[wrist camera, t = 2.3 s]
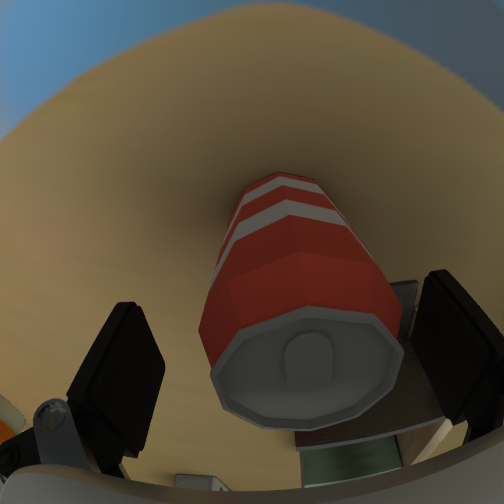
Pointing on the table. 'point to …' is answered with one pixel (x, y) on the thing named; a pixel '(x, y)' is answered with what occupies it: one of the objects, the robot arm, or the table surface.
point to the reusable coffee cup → (9, 420)
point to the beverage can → (298, 312)
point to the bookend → (387, 397)
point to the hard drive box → (199, 482)
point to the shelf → (371, 453)
